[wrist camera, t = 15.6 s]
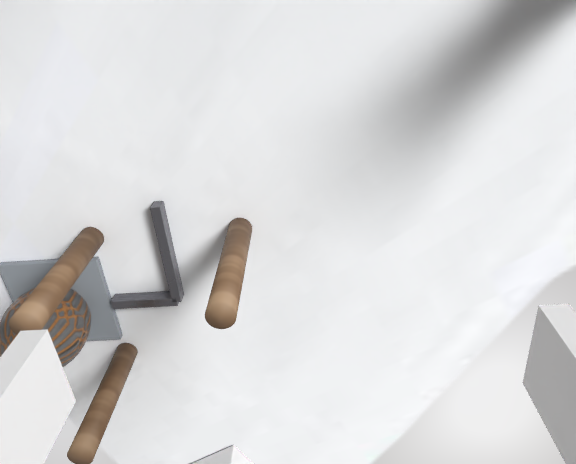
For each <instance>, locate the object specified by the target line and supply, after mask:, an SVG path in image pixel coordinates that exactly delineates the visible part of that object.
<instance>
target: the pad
mask: <svg viewBox="0 0 576 464" xmlns="http://www.w3.org/2000/svg"><path fill="white" fill-rule="evenodd" d="M58 260H59V259H51V260H33V261H16V262H1V263H0V273H1V276H2V278H3V281H4V283H5V285H6V288H7V290H8V292H9V295H10V297H11V299H12V302H14V301H15V300H16V299H17V298H18V297H20V296H21V295H22V294H24V293H25V292H27V291H29V290H31V289H33V288H36V287H37V285H38V284H39V283H40V282H41V280H42V279H43V278H44V277H45V275H46V274H47V273H48V272H49V271H50V269H51V268H52V267H53V266H54V264H55V263H56V262H57V261H58ZM71 289H73V290H74V291H76V292H77V293H78V294H80V295H81V296H82V297H83V299H84V300H85V301H86V303H87V305H88V307H89V309H90V313H91V328H90V332H89V335H88V338H87V340H86V341H97V340H117V339H121V337H122V332H121V329H120V325H119V322H118V319H117V316H116V312H115V309H113V307H112V304H111V301H112V299H111V296H110V293H109V290H108V286H107V283H106V280H105V277H104V273H103V270H102V267H101V264H100V260H99V257H93V258H92V259H91V261H90V262H89V263H88V265H87V266H86V268H85V269H84V271H83V272H82V273H81V275H80V276H79V278H78V279H77V280H76V282H75V283H74V285H73V286H72V288H71Z"/></svg>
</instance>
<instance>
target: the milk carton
mask: <svg viewBox="0 0 576 464" xmlns="http://www.w3.org/2000/svg"><path fill="white" fill-rule="evenodd" d="M192 464H254V463H253V462H252V461H251V460H250V459H249V458H248V457H247V456H246V455H245V454H244V453H243V452H241V451H240V450H239V449H238V448H237V447H236V446H235V445H233V446H230V447H228V448H226V449H224V450H221V451H219V452H217V453H214V454H212V455H210V456H208V457H205V458H203V459H201V460H199V461H196V462H194V463H192Z"/></svg>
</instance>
